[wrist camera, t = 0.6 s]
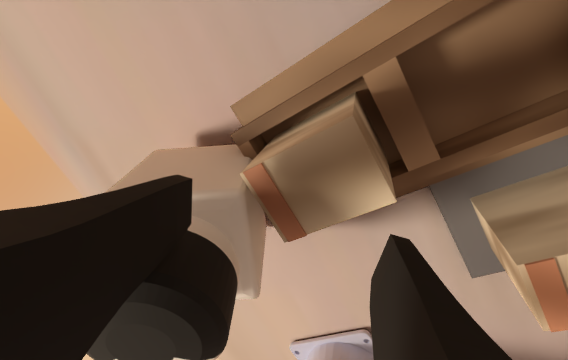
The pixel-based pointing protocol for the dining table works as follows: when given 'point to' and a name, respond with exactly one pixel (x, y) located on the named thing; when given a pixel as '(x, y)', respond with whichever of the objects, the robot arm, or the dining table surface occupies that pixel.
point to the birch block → (532, 241)
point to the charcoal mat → (484, 179)
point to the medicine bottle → (193, 263)
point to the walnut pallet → (431, 85)
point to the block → (321, 171)
